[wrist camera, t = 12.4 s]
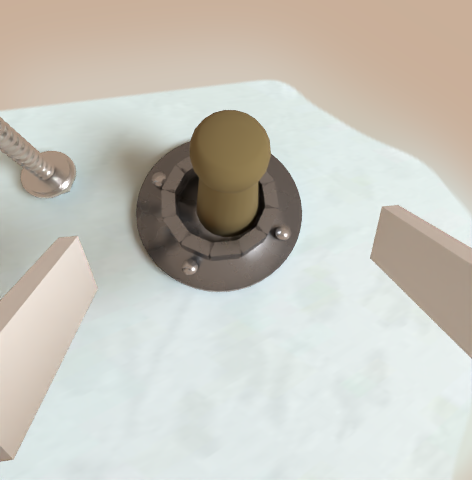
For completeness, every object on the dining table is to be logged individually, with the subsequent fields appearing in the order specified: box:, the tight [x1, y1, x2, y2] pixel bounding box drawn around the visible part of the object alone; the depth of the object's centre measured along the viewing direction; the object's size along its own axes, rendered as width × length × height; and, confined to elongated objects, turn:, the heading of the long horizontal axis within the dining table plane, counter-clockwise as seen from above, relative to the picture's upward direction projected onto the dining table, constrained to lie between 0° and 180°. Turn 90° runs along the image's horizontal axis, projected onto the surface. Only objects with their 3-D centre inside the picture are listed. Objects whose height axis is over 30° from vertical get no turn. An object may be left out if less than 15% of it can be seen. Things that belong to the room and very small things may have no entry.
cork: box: [190, 110, 271, 237], centre depth 21 cm, size 6×6×11 cm
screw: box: [0, 117, 76, 198], centre depth 21 cm, size 13×5×5 cm
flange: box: [136, 142, 302, 292], centre depth 26 cm, size 16×16×3 cm
